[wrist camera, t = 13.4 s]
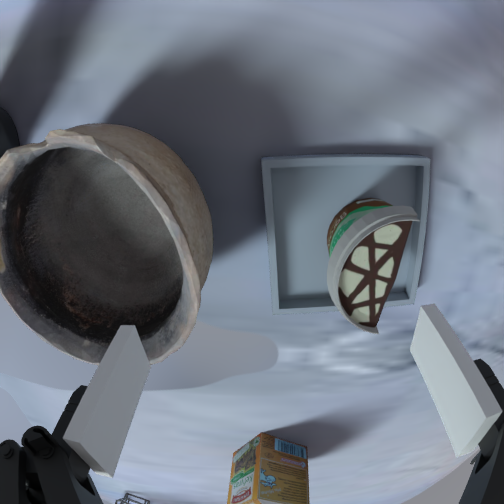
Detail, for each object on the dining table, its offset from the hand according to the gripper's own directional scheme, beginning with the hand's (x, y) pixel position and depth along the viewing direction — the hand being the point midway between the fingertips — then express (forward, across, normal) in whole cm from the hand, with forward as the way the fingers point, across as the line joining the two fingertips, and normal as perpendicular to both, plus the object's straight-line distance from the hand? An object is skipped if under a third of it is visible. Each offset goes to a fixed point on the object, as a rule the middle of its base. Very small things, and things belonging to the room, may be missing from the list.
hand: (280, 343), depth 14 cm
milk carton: (+22, -3, -49) cm, 54 cm away
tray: (+22, +8, -4) cm, 24 cm away
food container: (+22, +8, -4) cm, 23 cm away
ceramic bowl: (+23, -16, 0) cm, 28 cm away
